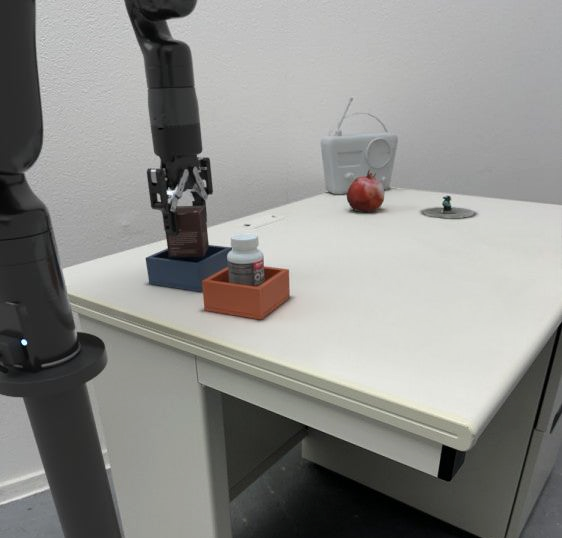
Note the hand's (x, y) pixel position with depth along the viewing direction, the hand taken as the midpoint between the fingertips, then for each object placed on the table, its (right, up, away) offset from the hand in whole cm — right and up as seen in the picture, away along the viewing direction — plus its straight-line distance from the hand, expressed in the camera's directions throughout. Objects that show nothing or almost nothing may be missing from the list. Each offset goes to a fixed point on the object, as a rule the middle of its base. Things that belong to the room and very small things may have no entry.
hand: (187, 228), depth 91 cm
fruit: (+37, +17, +48) cm, 63 cm away
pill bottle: (+11, -13, -7) cm, 18 cm away
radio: (+39, +30, +71) cm, 86 cm away
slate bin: (0, -8, +4) cm, 9 cm away
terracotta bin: (+11, -13, -7) cm, 19 cm away
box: (0, -4, +2) cm, 4 cm away
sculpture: (+57, +15, +43) cm, 73 cm away
